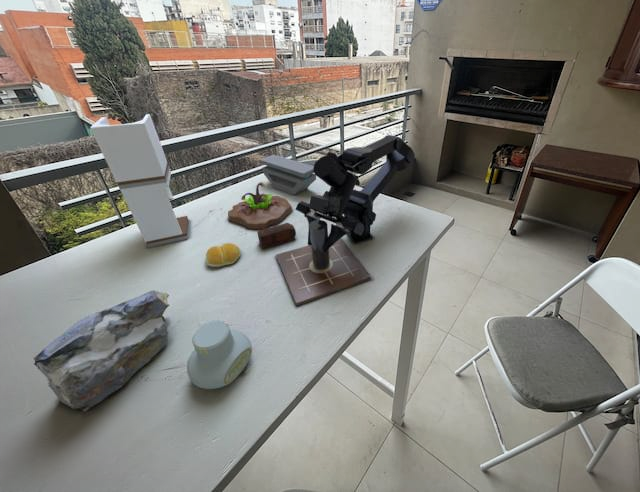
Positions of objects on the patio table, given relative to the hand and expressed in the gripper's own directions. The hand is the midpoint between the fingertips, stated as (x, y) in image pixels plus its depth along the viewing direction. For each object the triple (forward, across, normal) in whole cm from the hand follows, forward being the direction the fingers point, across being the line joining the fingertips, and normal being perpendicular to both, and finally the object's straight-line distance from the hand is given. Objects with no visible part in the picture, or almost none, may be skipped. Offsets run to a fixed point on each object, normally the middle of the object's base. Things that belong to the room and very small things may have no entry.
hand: (316, 248), depth 73 cm
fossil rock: (+33, -14, -22) cm, 42 cm away
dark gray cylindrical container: (+4, 0, +6) cm, 7 cm away
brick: (+3, -19, +8) cm, 21 cm away
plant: (-4, -36, +15) cm, 39 cm away
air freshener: (+27, +2, -16) cm, 32 cm away
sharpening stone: (-18, -42, +30) cm, 55 cm away
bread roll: (+13, -26, -2) cm, 29 cm away
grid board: (+5, 0, +6) cm, 8 cm away
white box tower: (+14, -51, -3) cm, 53 cm away
